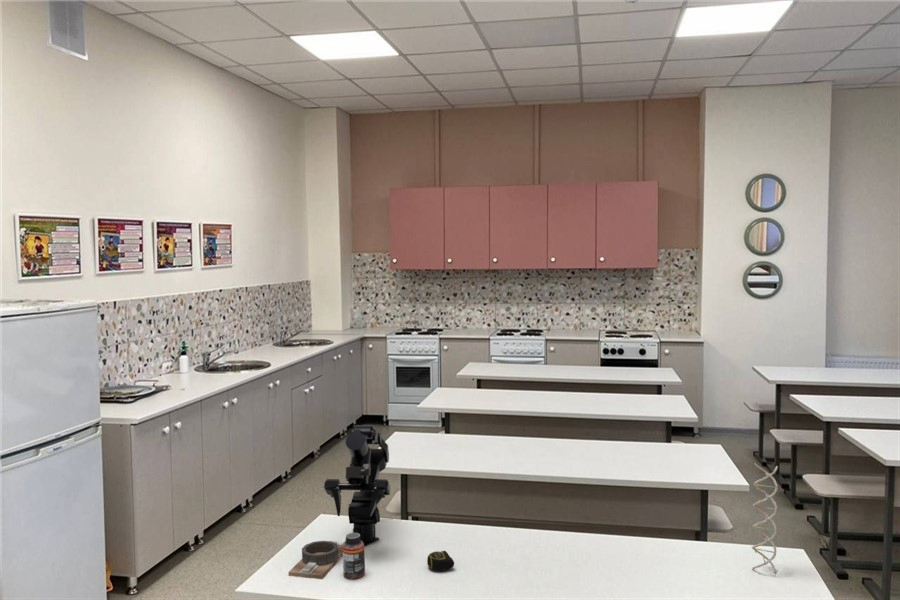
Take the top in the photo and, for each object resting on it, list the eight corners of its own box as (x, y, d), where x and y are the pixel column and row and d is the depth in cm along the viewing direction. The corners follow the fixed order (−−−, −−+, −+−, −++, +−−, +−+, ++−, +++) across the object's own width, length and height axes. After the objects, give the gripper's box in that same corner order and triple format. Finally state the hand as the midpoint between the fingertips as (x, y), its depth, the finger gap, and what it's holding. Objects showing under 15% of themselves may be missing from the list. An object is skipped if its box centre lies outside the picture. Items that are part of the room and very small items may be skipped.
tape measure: (454, 571, 196) (454, 558, 196) (431, 575, 194) (431, 562, 194) (447, 561, 203) (447, 548, 202) (424, 564, 201) (424, 552, 200)
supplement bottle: (353, 568, 199) (352, 529, 198) (369, 573, 195) (368, 533, 194) (338, 576, 194) (337, 536, 193) (354, 582, 190) (353, 541, 190)
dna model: (777, 569, 194) (780, 462, 192) (776, 578, 189) (778, 469, 187) (751, 564, 198) (753, 459, 196) (749, 573, 192) (751, 465, 190)
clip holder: (318, 545, 214) (318, 533, 214) (349, 548, 212) (349, 535, 211) (288, 575, 195) (288, 561, 194) (322, 578, 192) (321, 564, 192)
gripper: (323, 453, 205) (316, 505, 196) (387, 453, 204) (383, 506, 194) (331, 468, 214) (324, 519, 204) (392, 468, 213) (388, 519, 203)
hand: (354, 515), depth 201 cm, fingers open, 9 cm apart
